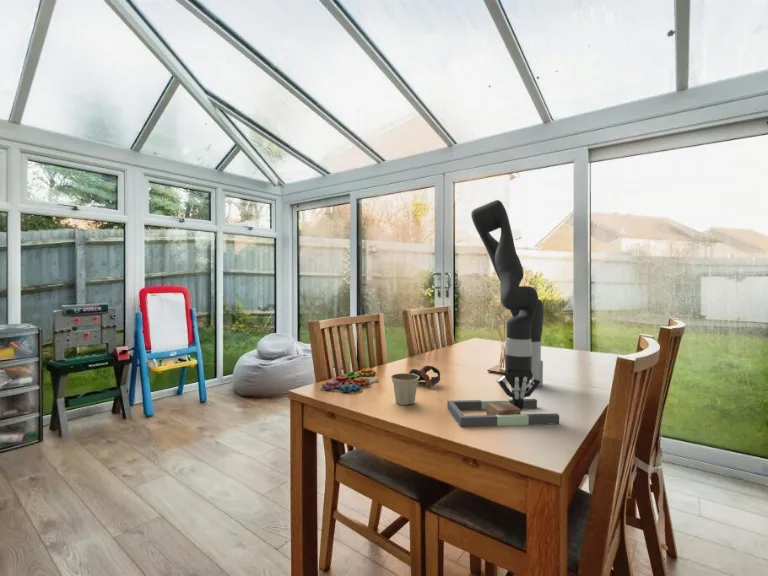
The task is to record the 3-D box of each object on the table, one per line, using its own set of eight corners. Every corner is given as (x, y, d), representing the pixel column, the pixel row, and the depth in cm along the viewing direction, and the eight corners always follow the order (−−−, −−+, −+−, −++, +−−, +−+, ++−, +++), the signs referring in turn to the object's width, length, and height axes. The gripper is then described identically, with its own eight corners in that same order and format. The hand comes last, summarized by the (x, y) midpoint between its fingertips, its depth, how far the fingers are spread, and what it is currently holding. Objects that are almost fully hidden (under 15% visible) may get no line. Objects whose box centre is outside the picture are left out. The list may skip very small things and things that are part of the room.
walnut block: (507, 414, 121) (507, 401, 120) (520, 422, 114) (520, 409, 114) (486, 416, 119) (486, 402, 119) (498, 424, 112) (498, 410, 112)
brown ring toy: (434, 381, 158) (441, 366, 154) (436, 398, 150) (443, 382, 146) (405, 374, 157) (412, 358, 153) (405, 391, 149) (412, 374, 145)
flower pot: (389, 398, 135) (389, 373, 135) (416, 397, 136) (416, 372, 135) (392, 407, 126) (392, 380, 125) (421, 406, 126) (421, 379, 126)
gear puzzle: (356, 372, 173) (356, 362, 173) (390, 376, 167) (390, 366, 167) (317, 391, 145) (317, 380, 144) (357, 396, 138) (357, 385, 138)
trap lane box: (534, 406, 127) (534, 398, 127) (559, 423, 112) (559, 415, 112) (447, 408, 125) (447, 400, 125) (460, 426, 110) (460, 417, 110)
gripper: (534, 350, 122) (533, 405, 123) (492, 350, 121) (491, 406, 122) (546, 355, 115) (545, 414, 116) (501, 355, 114) (501, 415, 114)
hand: (517, 410), depth 119 cm, fingers closed
